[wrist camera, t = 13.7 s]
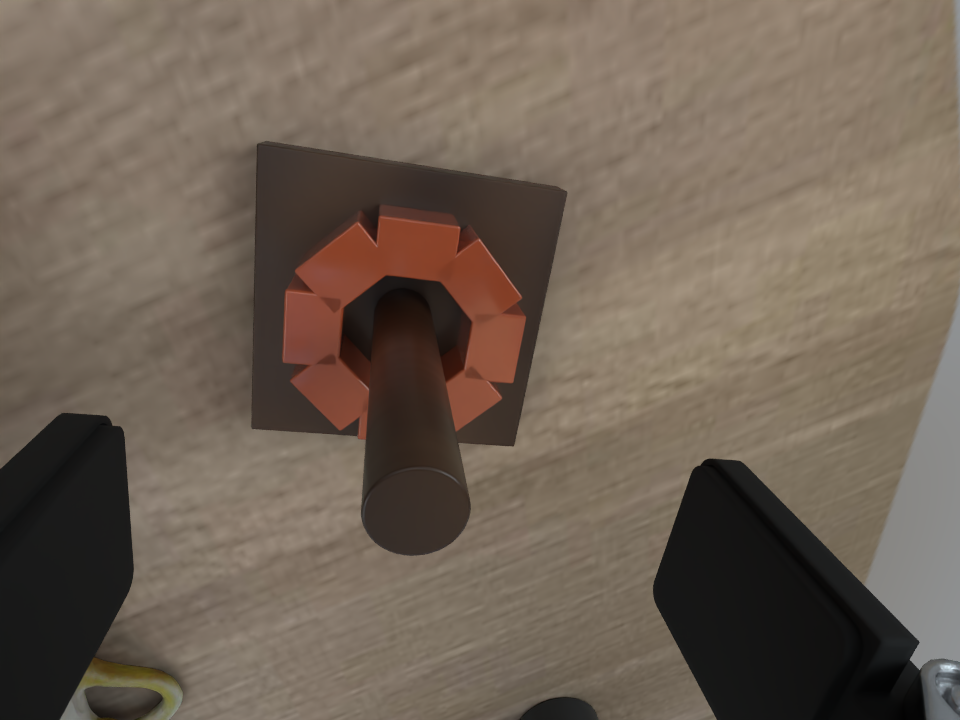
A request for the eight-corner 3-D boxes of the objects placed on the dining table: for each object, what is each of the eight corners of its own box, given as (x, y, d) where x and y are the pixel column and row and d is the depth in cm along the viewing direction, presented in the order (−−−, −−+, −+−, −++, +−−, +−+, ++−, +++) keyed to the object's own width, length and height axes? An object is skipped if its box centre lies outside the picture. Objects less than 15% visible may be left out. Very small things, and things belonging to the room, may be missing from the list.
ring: (527, 224, 18) (542, 238, 16) (490, 419, 21) (500, 449, 19) (297, 191, 17) (287, 202, 15) (288, 403, 19) (278, 434, 18)
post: (557, 186, 19) (751, 282, 9) (508, 430, 22) (607, 701, 12) (264, 140, 17) (92, 194, 7) (258, 412, 21) (133, 710, 11)
